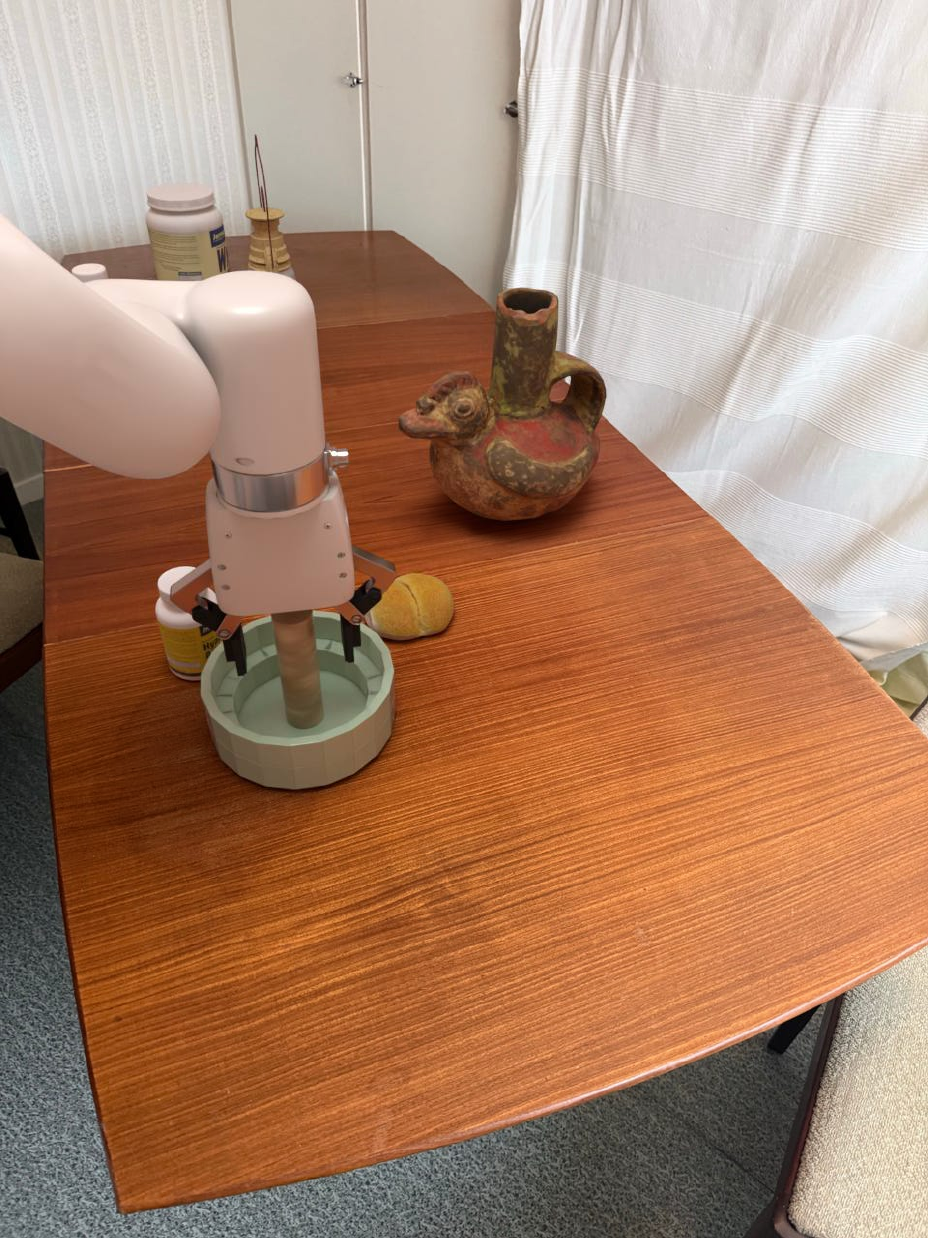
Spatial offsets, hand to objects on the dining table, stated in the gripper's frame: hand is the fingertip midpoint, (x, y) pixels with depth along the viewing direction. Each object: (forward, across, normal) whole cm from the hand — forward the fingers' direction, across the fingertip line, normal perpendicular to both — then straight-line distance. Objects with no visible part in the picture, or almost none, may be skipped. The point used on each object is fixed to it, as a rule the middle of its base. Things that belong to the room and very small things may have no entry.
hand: (295, 656), depth 67 cm
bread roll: (+8, -11, -12) cm, 18 cm away
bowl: (+8, 0, 0) cm, 8 cm away
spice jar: (+8, +23, -77) cm, 81 cm away
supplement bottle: (+8, +9, -9) cm, 15 cm away
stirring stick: (+7, 0, 0) cm, 7 cm away
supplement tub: (+8, +11, -101) cm, 102 cm away
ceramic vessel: (+8, -25, -29) cm, 39 cm away
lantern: (+8, -2, -75) cm, 75 cm away
